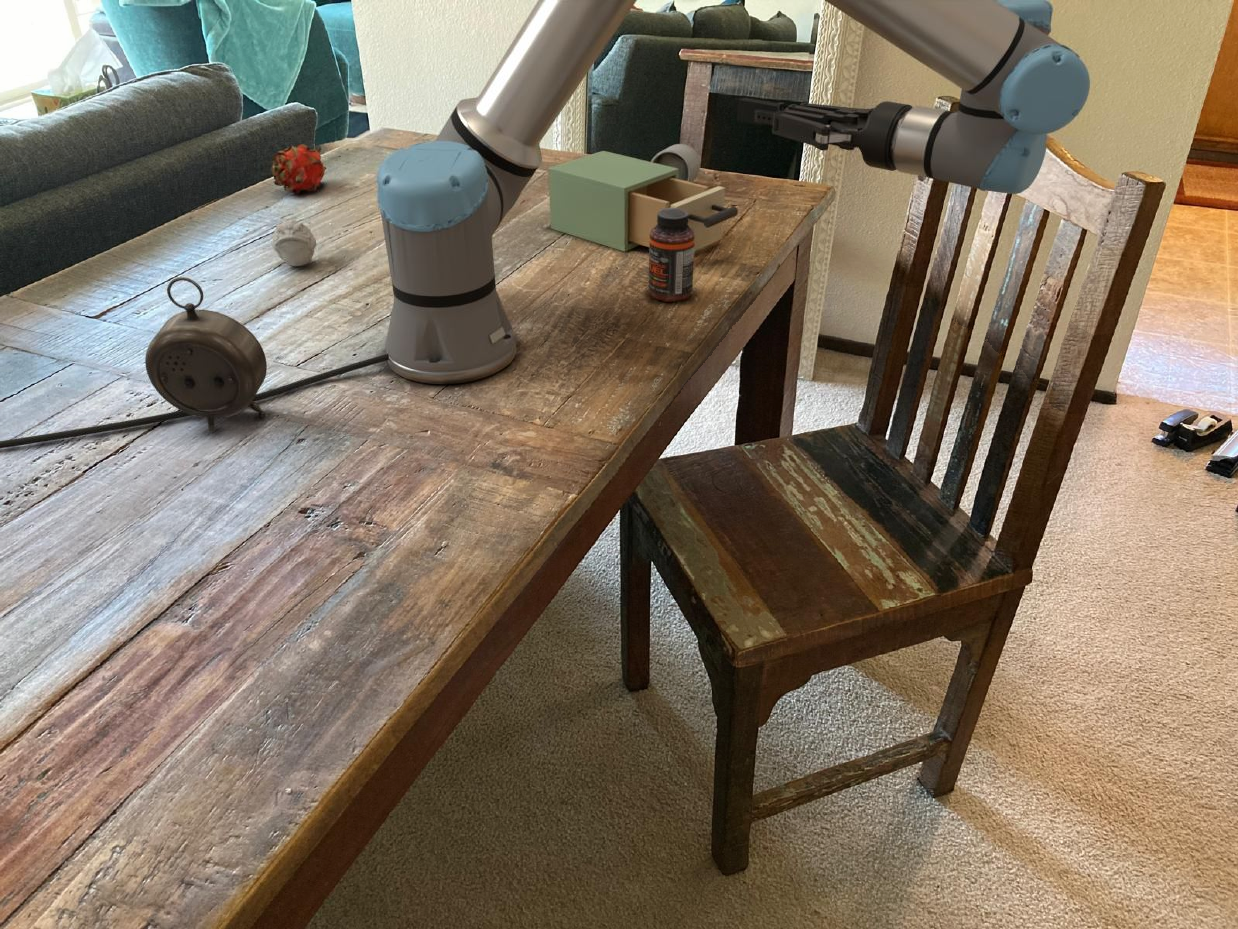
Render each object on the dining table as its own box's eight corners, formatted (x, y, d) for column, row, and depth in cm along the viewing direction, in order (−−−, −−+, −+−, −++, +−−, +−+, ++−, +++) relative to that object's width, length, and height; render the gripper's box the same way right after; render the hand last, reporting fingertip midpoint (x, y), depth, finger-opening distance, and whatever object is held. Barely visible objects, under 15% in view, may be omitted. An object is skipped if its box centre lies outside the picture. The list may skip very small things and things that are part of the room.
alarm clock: (280, 408, 100) (245, 266, 91) (264, 434, 96) (226, 288, 87) (179, 409, 100) (135, 267, 91) (158, 435, 96) (110, 289, 87)
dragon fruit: (278, 209, 160) (320, 199, 170) (309, 183, 156) (350, 174, 166) (249, 165, 159) (293, 157, 169) (279, 138, 155) (322, 131, 165)
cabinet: (677, 229, 146) (678, 168, 141) (624, 251, 139) (624, 187, 133) (604, 208, 155) (603, 150, 150) (550, 228, 147) (548, 167, 142)
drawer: (745, 245, 138) (748, 193, 134) (698, 267, 131) (701, 212, 127) (649, 217, 148) (649, 168, 144) (601, 236, 141) (600, 185, 137)
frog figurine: (274, 276, 131) (263, 228, 127) (279, 258, 137) (269, 212, 133) (318, 273, 132) (309, 225, 128) (322, 255, 138) (313, 209, 134)
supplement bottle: (639, 294, 125) (639, 212, 119) (668, 282, 129) (670, 201, 123) (671, 307, 122) (674, 223, 116) (701, 294, 125) (705, 212, 119)
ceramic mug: (701, 184, 166) (703, 140, 161) (689, 197, 159) (690, 152, 155) (645, 179, 169) (645, 136, 164) (631, 193, 162) (630, 148, 158)
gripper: (873, 183, 107) (709, 148, 120) (924, 159, 115) (766, 128, 128) (883, 116, 103) (712, 87, 116) (935, 95, 111) (770, 70, 124)
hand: (740, 109), depth 122 cm, fingers closed
